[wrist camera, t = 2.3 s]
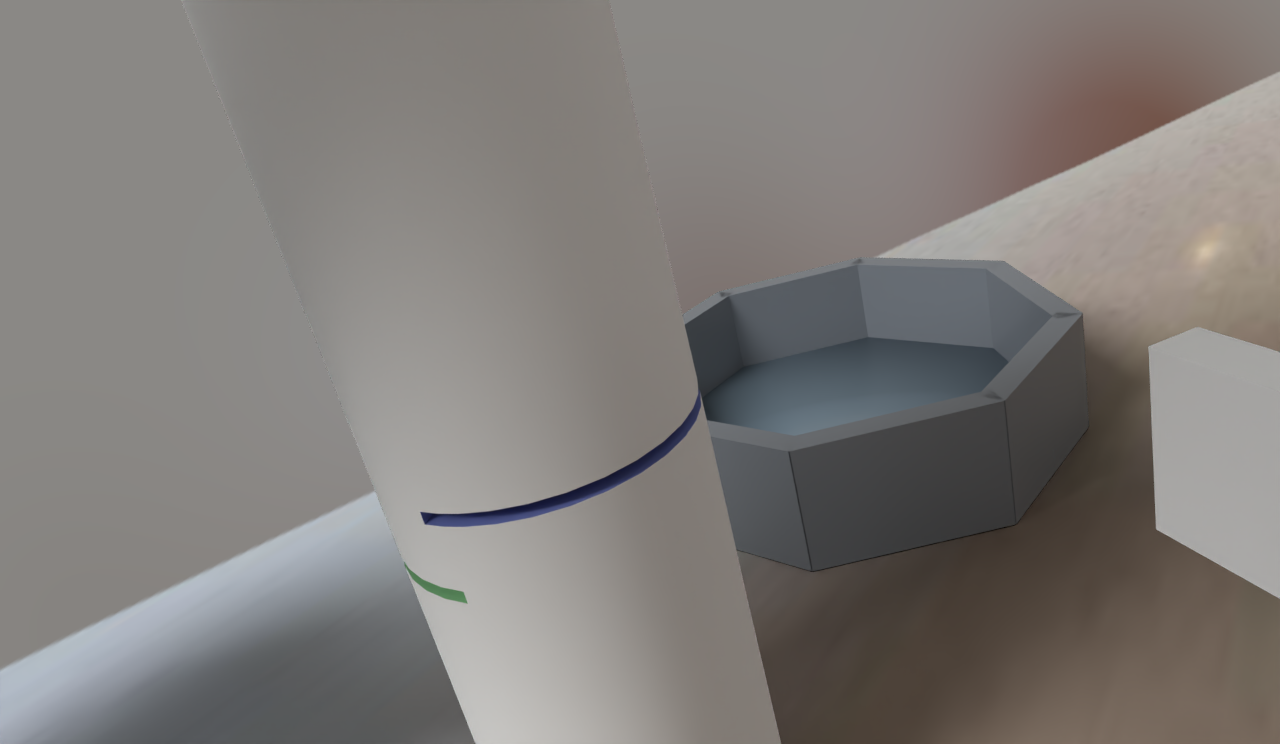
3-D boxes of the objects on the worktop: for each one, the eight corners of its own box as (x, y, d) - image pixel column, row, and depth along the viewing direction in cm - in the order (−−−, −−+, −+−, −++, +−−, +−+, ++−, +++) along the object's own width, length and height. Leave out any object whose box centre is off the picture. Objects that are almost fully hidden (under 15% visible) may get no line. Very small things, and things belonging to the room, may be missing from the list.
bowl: (669, 604, 34) (637, 487, 32) (640, 401, 51) (618, 315, 49) (1162, 490, 34) (1159, 363, 32) (970, 322, 50) (961, 232, 48)
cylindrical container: (773, 997, 21) (404, -358, 11) (490, 951, 23) (-5, -181, 14) (818, 745, 27) (602, -273, 17) (589, 731, 29) (291, -162, 20)
